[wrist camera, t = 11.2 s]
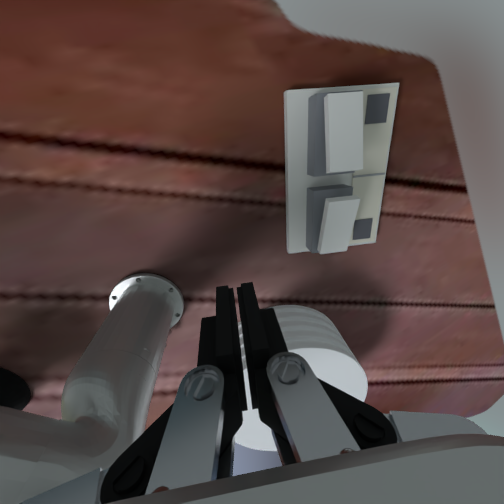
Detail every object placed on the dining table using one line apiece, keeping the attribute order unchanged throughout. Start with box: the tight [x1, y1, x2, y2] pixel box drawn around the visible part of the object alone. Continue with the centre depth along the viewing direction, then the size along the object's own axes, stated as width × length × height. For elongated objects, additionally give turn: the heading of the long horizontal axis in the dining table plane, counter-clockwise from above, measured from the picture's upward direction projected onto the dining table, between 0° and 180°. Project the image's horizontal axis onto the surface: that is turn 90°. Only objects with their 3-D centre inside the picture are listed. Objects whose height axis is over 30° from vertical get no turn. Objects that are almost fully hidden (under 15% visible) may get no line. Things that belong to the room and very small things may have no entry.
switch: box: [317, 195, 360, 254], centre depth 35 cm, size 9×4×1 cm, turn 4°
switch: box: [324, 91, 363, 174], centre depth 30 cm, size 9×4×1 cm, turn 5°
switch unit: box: [284, 83, 399, 254], centre depth 37 cm, size 24×16×4 cm, turn 4°
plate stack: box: [235, 305, 368, 451], centre depth 49 cm, size 28×28×12 cm
